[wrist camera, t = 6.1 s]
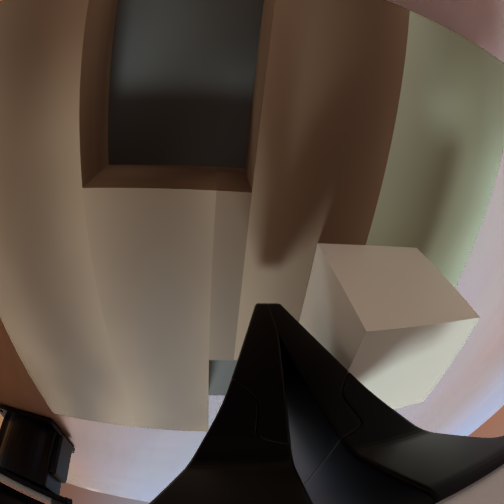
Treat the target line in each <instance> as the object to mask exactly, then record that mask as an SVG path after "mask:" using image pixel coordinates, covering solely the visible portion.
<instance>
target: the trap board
mask: <svg viewBox="0 0 504 504" xmlns="http://www.w3.org/2000/svg"><path fill="white" fill-rule="evenodd" d="M503 149H504V63H503V62H502V61H500V60H499V59H497V58H496V57H494V56H493V55H491V54H490V53H488V52H487V51H485V50H484V49H482V48H481V47H479V46H477V45H476V44H474V43H472V42H471V41H469V40H467V39H466V38H464V37H462V36H460V35H459V34H457V33H455V32H453V31H451V30H450V29H448V28H446V27H444V26H442V25H440V24H438V23H436V22H434V21H432V20H430V19H428V18H426V17H424V16H421V15H419V14H417V13H415V12H413V11H410V10H408V9H406V8H403V7H401V6H398V5H396V4H393V3H391V2H388V1H386V0H3V1H1V2H0V318H1V320H2V322H3V325H4V327H5V329H6V331H7V333H8V335H9V337H10V339H11V341H12V343H13V345H14V347H15V349H16V351H17V353H18V355H19V357H20V359H21V361H22V363H23V365H24V366H25V368H26V370H27V372H28V373H29V375H30V377H31V379H32V380H33V382H34V384H35V385H36V387H37V389H38V390H39V392H40V394H41V395H42V397H43V398H44V400H45V401H46V403H47V405H48V406H49V408H50V409H51V411H52V412H53V413H55V414H60V415H64V416H69V417H74V418H79V419H84V420H90V421H96V422H102V423H109V424H116V425H124V426H132V427H141V428H152V429H165V430H182V431H208V395H226V393H227V390H228V387H229V384H230V381H231V378H232V375H233V372H234V369H235V366H236V363H237V360H238V357H239V354H240V351H241V348H242V345H243V342H244V338H245V335H246V332H247V329H248V326H249V323H250V320H251V317H252V313H253V310H254V307H255V305H256V304H257V303H279V304H281V305H282V306H283V307H284V308H285V309H286V310H287V311H288V312H289V313H290V314H291V315H292V316H293V317H294V318H295V319H296V320H297V321H298V322H299V320H300V316H301V312H302V308H303V304H304V300H305V295H306V291H307V287H308V283H309V279H310V274H311V270H312V266H313V261H314V257H315V252H316V248H317V243H325V244H349V245H371V246H393V247H413V248H417V249H418V250H419V251H420V252H421V253H422V254H423V255H424V256H425V257H426V258H427V259H428V260H429V261H430V262H431V263H432V264H433V265H434V266H435V267H436V268H437V269H438V270H439V271H440V272H441V274H442V275H443V276H444V277H445V278H446V279H447V280H448V281H449V282H450V283H451V284H452V286H453V287H454V288H455V287H456V285H457V282H458V280H459V278H460V276H461V274H462V271H463V269H464V267H465V265H466V262H467V260H468V258H469V255H470V253H471V250H472V248H473V245H474V243H475V240H476V238H477V235H478V232H479V230H480V227H481V224H482V221H483V218H484V216H485V213H486V210H487V207H488V203H489V200H490V197H491V194H492V191H493V187H494V184H495V180H496V177H497V173H498V169H499V165H500V162H501V157H502V153H503Z"/></svg>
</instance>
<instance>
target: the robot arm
mask: <svg viewBox="0 0 504 504" xmlns="http://www.w3.org/2000/svg"><path fill="white" fill-rule="evenodd" d="M0 413H1V414H2V416H3V417H4V419H3V422H2V425H1V428H0V480H2V481H4V482H5V483H7V484H9V485H11V486H13V487H15V488H17V489H19V490H21V491H23V492H25V493H27V494H29V495H32V496H34V497H36V498H39V499H41V500H43V501H45V502H48V503H50V504H72V499H69V498H66V497H62V496H60V495H59V494H60V488H61V483H65V482H66V480H67V475H68V469H69V463H70V458H71V453H74V451H75V448H74V447H73V446H72V445H71V444H70V442H69V441H68V440H67V438H66V437H65V436H64V435H63V433H62V432H61V431H60V429H59V428H58V427H57V425H56V424H55V423H54V421H52V420H51V419H48V418H45V417H41V416H37V415H33V414H30V413H26V412H23V411H19V410H16V409H13V408H9V407H6V406H3V405H0ZM0 504H44V503H42V502H40V501H38V500H35V499H33V498H31V497H29V496H27V495H25V494H23V493H20V492H18V491H16V490H14V489H12V488H10V487H9V486H6V485H5V484H3V483H1V482H0ZM149 504H504V436H501V437H496V438H480V437H468V436H458V435H448V434H440V433H433V432H429V431H425V430H423V429H421V428H419V427H417V426H415V425H414V424H412V423H411V422H409V421H408V420H407V419H405V418H404V417H403V416H401V415H400V414H399V413H397V412H396V411H395V410H393V409H392V408H391V407H390V406H388V405H387V404H386V403H384V402H383V401H382V400H380V399H379V398H378V397H377V396H376V395H374V394H373V393H372V392H371V391H369V390H368V389H367V388H366V387H365V386H364V385H363V384H362V383H361V382H360V381H358V380H357V379H356V378H355V377H354V376H353V375H352V374H351V373H350V372H348V370H347V369H346V368H345V367H344V366H343V365H342V364H341V363H340V362H339V361H338V360H337V359H336V358H335V357H334V356H333V355H332V354H331V353H330V352H328V351H327V350H326V349H325V348H324V347H323V346H322V345H321V344H320V343H319V342H318V341H317V340H316V339H315V338H314V337H313V336H312V335H311V334H310V333H309V332H308V331H307V330H306V329H305V328H304V327H303V326H302V325H301V324H300V323H299V322H298V321H297V320H296V319H295V318H294V317H293V316H292V315H291V314H290V313H289V312H288V311H287V310H286V309H285V308H284V307H283V306H282V305H281V304H279V303H257V304H256V305H255V307H254V310H253V313H252V317H251V320H250V323H249V326H248V329H247V332H246V335H245V338H244V342H243V345H242V348H241V351H240V354H239V357H238V360H237V363H236V366H235V369H234V372H233V375H232V378H231V381H230V384H229V387H228V390H227V393H226V395H225V398H224V401H223V403H222V405H221V407H220V409H219V411H218V413H217V415H216V418H215V419H214V421H213V423H212V425H211V427H210V428H209V430H208V432H207V434H206V436H205V437H204V439H203V441H202V443H201V445H200V446H199V448H198V450H197V452H196V453H195V455H194V456H193V458H192V459H191V461H190V462H189V464H188V465H187V467H186V468H185V469H184V470H183V471H182V472H181V473H180V474H179V475H178V476H177V477H176V478H175V479H174V480H173V481H172V482H171V483H170V484H169V485H168V486H167V487H166V488H165V489H164V490H163V491H162V492H161V493H160V494H159V495H158V496H157V497H156V498H155V499H154V500H152V501H151V502H150V503H149Z"/></svg>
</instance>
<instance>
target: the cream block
mask: <svg viewBox="0 0 504 504" xmlns="http://www.w3.org/2000/svg"><path fill="white" fill-rule="evenodd" d="M479 318H480V317H479V316H478V314H477V313H476V312H475V311H474V310H473V308H472V307H471V306H470V305H469V304H468V303H467V301H466V300H465V299H464V298H463V297H462V296H461V295H460V293H459V292H458V291H457V290H456V289H455V288H454V287H453V286H452V284H451V283H450V282H449V281H448V280H447V279H446V278H445V277H444V276H443V275H442V274H441V272H440V271H439V270H438V269H437V268H436V267H435V266H434V265H433V264H432V263H431V262H430V261H429V260H428V259H427V258H426V257H425V256H424V255H423V254H422V253H421V252H420V251H419V250H418V249H417V248H413V247H393V246H371V245H349V244H325V243H317V248H316V252H315V257H314V261H313V266H312V270H311V274H310V279H309V283H308V287H307V291H306V295H305V300H304V304H303V308H302V312H301V316H300V320H299V323H300V324H301V325H302V326H303V327H304V328H305V329H306V330H307V331H308V332H309V333H310V334H311V335H312V336H313V337H314V338H315V339H316V340H317V341H318V342H319V343H320V344H321V345H322V346H323V347H324V348H325V349H326V350H327V351H328V352H330V353H331V354H332V355H333V356H334V357H335V358H336V359H337V360H338V361H339V362H340V363H341V364H342V365H343V366H344V367H345V368H346V369H347V370H348V372H350V373H351V374H352V375H353V376H354V377H355V378H356V379H357V380H358V381H360V382H361V383H362V384H363V385H364V386H365V387H366V388H367V389H368V390H369V391H371V392H372V393H373V394H374V395H376V396H377V397H378V398H379V399H380V400H382V401H383V402H384V403H386V404H387V405H388V406H390V407H391V408H392V409H397V408H401V407H405V406H409V405H413V404H417V403H420V402H423V401H424V400H425V399H426V398H427V396H428V395H429V394H430V392H431V391H432V390H433V388H434V387H435V386H436V384H437V383H438V382H439V380H440V379H441V378H442V376H443V375H444V373H445V372H446V371H447V369H448V368H449V366H450V365H451V363H452V362H453V360H454V359H455V357H456V356H457V354H458V353H459V351H460V350H461V348H462V347H463V345H464V343H465V342H466V340H467V339H468V337H469V335H470V334H471V332H472V330H473V329H474V327H475V325H476V323H477V322H478V320H479Z"/></svg>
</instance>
